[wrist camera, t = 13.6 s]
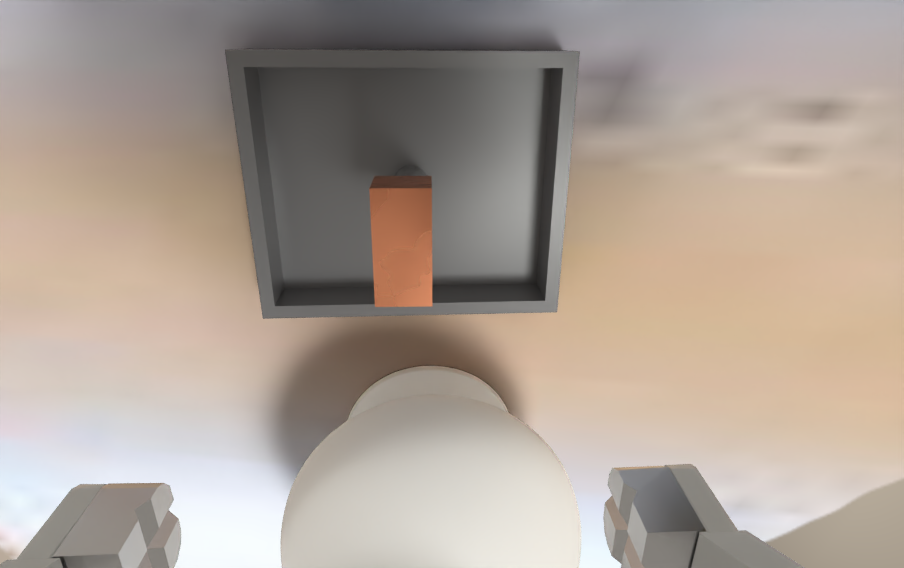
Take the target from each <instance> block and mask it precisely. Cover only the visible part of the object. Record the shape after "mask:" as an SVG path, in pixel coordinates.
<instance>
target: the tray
mask: <svg viewBox="0 0 904 568" xmlns="http://www.w3.org/2000/svg"><path fill="white" fill-rule="evenodd" d="M225 54H226V61H227V68H228V75H229V82H230V89H231V96H232V103H233V110H234V118H235V125H236V132H237V139H238V146H239V153H240V160H241V167H242V174H243V181H244V188H245V195H246V202H247V209H248V217H249V224H250V231H251V238H252V245H253V252H254V259H255V266H256V273H257V280H258V287H259V294H260V301H261V309H262V316H263V319H265V318H311V317H357V316H403V315H449V314H496V313H542V312H557V307H558V296H559V284H560V273H561V261H562V250H563V238H564V227H565V215H566V204H567V192H568V181H569V169H570V158H571V146H572V135H573V123H574V112H575V100H576V89H577V77H578V66H579V54H580V52H578V51H527V50H321V49H235V50H225ZM406 166H416V167H418V168H420V169H422V170H423V171H424V172H425V173H426V175H427V176H432V303H433V306H431V307H375V297H374V277H373V256H372V235H371V214H370V194H369V188H370V186H371V183H372V181H373V179H374V176H395V174H396V173H397V171H398V170H400V169H401V168H403V167H406Z"/></svg>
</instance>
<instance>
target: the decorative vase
mask: <svg viewBox="0 0 904 568" xmlns="http://www.w3.org/2000/svg"><path fill="white" fill-rule="evenodd" d="M580 553H581V525H580V516H579V511H578V506H577V501H576V498H575V494H574V491H573V488H572V485H571V483H570V480H569V478H568V475H567V473H566V471H565V469H564V467H563V466H562V464H561V462H560V461H559V459H558V457H557V456H556V455H555V453H554V452H553V450H552V449H551V448H550V447H549V445H548V444H547V443H546V442H545V441H544V440H543V439H542V438H541V437H540V436H539V435H538V434H537V433H536V432H535V431H534V430H533V429H531V428H530V427H529V426H528V425H526V424H525V423H523V422H522V421H521V420H519V419H517V418H516V417H514V416H513V415H511V414H509V413H508V410H507V408H506V406H505V404H504V402H503V401H502V399H501V398H500V396H499V395H498V394H497V393H496V392H495V391H494V390H493V389H492V388H491V387H490V386H489V385H488V384H487V383H485V382H484V381H482V380H481V379H479V378H477V377H476V376H474V375H472V374H469V373H467V372H464V371H462V370H458V369H455V368H450V367H444V366H418V367H412V368H407V369H404V370H400V371H397V372H395V373H392V374H390V375H388V376H386V377H384V378H382V379H380V380H379V381H377V382H376V383H374V384H373V385H372V386H370V387H369V388H368V389H367V390H366V391H365V392H364V393H363V394H362V395H361V396H360V397H359V399H358V400H357V401H356V403H355V404H354V406H353V408H352V410H351V412H350V414H349V417H348V420H347V421H346V422H345V423H343V424H342V425H340V426H339V427H338V428H336V429H335V430H334V431H333V432H332V433H330V434H329V435H328V436H327V437H326V438H325V439H324V440H323V441H322V442H321V443H320V444H319V445H318V446H317V447H316V448H315V450H314V451H313V452H312V453H311V455H310V456H309V457H308V459H307V460H306V461H305V463H304V464H303V466H302V468H301V469H300V471H299V473H298V475H297V477H296V479H295V481H294V483H293V486H292V488H291V491H290V493H289V496H288V500H287V503H286V507H285V511H284V516H283V522H282V530H281V562H282V568H578V567H579V561H580Z"/></svg>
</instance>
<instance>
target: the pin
mask: <svg viewBox="0 0 904 568" xmlns="http://www.w3.org/2000/svg"><path fill="white" fill-rule="evenodd" d="M369 194H370V214H371V235H372V256H373V277H374V297H375V307H431V306H433V303H432V176H427V175H426V173H425V172H424V171H423V170H422V169H420V168H418V167H416V166H406V167H403V168H401V169H400V170H398V171H397V173H396V174H395V176H374V179H373V181H372V183H371V186H370V188H369Z"/></svg>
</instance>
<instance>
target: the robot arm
mask: <svg viewBox="0 0 904 568" xmlns="http://www.w3.org/2000/svg"><path fill="white" fill-rule="evenodd" d="M608 486H609V489H610V491H611V494H612V496H611V497H610V498H609V499H608V500H607V501H606V502H605V507H604V531H605V536H606V540H607V544H608V547H609V550H610V553H611V555H612V556H613V557H614V558H615V559H616V560H617V561H619V562H620V563H621V564H622V565H621V568H804V567H803V566H801V565H800V564H798V563H796V562H795V561H793V560H792V559H790V558H788V557H787V556H785V555H784V554H782V553H780V552H779V551H777V550H776V549H774V548H773V547H771V546H770V545H768V544H767V543H765V542H763V541H762V540H760V539H759V538H757V537H756V536H754V535H752V534H751V533H749V532H748V531H746V530H745V531H738V530H737V528H736V527H735V525H734V524H733V522H732V521H731V519H730V518H729V516H728V515H727V513H726V512H725V510H724V509H723V507H722V506H721V504H720V503H719V501H718V500H717V498H716V497H715V495H714V494H713V492H712V491H711V489H710V488H709V486H708V485H707V483H706V482H705V480H704V479H703V477H702V476H701V474H700V473H699V471H698V470H697V468H696V467H695V466H693V465H692V464H681V465H665V466H647V467H623V468H612V470H611V472H610V474H609V480H608ZM173 500H174V499H173V496H172V492H171V489H170V486H169V485H167V484H165V483H124V484H80V485H78V486H77V487H75V488H73V489H71V490H70V492H69V493H68V494H67V495H66V497H65V498H64V499H63V500H62V502H61V503H60V504H59V506H58V507H57V508H56V509H55V511H54V512H53V513H52V515H51V516H50V517H49V518H48V520H47V521H46V522H45V523H44V525H43V526H42V527H41V529H40V530H39V531H38V532H37V534H36V535H35V536H34V538H33V539H32V540H31V541H30V543H29V544H28V545H27V546H26V548H25V549H24V550H23V552H22V553H21V554H20V555H19V557H18V558H17V559H16V560H6V561H5V562H3V563H1V564H0V568H174V566H175V564H176V562H177V559H178V554H179V550H180V545H181V528H180V523H179V519H178V518H177V517H176V516H175V515H173V514H172V513H171V512H170V511H169V508H170V506H171V504H172V502H173Z"/></svg>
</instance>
